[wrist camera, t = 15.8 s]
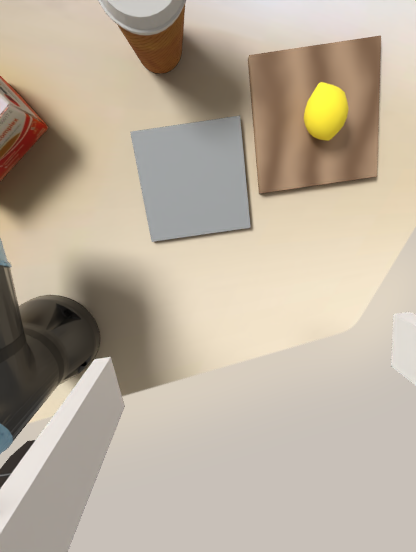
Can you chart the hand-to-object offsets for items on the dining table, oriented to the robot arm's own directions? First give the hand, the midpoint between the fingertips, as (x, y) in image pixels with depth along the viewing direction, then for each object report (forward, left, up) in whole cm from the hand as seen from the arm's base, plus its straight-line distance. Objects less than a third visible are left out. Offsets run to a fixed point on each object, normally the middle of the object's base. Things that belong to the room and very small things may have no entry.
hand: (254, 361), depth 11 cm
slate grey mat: (-2, +12, -31) cm, 33 cm away
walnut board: (+17, +18, -31) cm, 39 cm away
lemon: (+17, +18, -30) cm, 38 cm away
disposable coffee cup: (-4, +30, -31) cm, 43 cm away
